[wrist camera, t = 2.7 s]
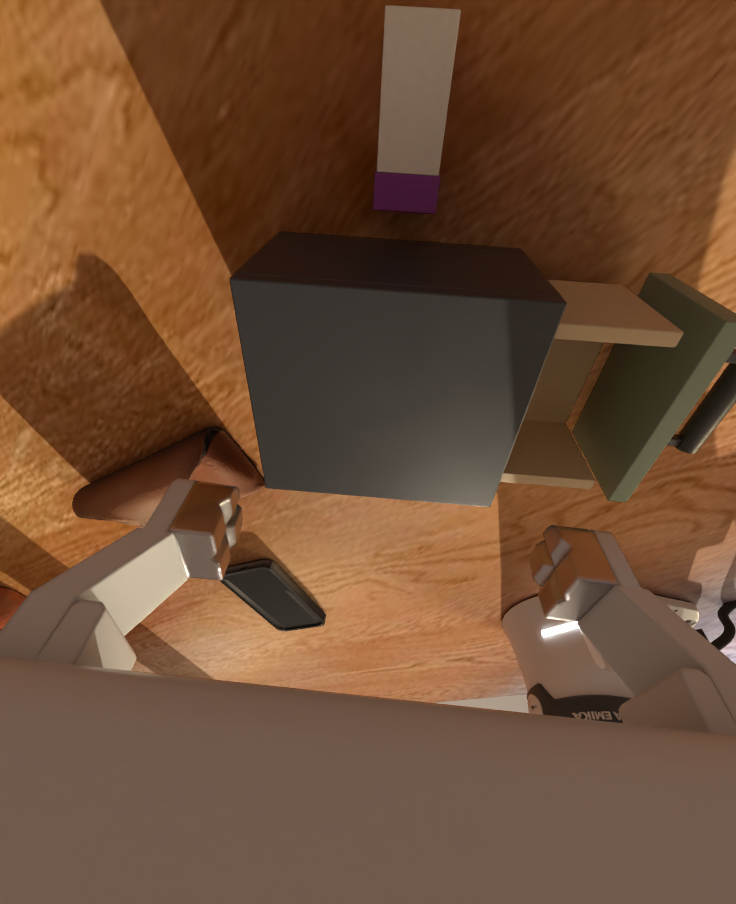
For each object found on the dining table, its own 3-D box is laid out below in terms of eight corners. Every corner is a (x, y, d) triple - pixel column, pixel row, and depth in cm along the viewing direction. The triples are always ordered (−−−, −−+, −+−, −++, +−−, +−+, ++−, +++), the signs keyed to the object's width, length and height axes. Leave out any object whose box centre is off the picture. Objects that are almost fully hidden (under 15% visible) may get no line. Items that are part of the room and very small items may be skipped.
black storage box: (520, 248, 24) (568, 302, 17) (472, 423, 32) (490, 507, 25) (279, 231, 24) (228, 278, 17) (295, 409, 32) (265, 488, 26)
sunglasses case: (148, 533, 44) (91, 560, 38) (121, 476, 44) (59, 494, 38) (272, 485, 38) (228, 508, 32) (243, 417, 37) (192, 428, 31)
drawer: (751, 279, 23) (861, 331, 17) (647, 438, 31) (700, 509, 25) (439, 257, 23) (450, 301, 18) (414, 419, 31) (416, 485, 26)
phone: (280, 632, 57) (215, 577, 48) (282, 624, 57) (218, 569, 49) (328, 625, 54) (268, 565, 46) (329, 617, 55) (271, 557, 46)
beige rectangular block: (385, 19, 18) (382, 4, 15) (455, 24, 18) (463, 9, 15) (376, 200, 22) (372, 210, 20) (432, 203, 22) (435, 214, 20)
